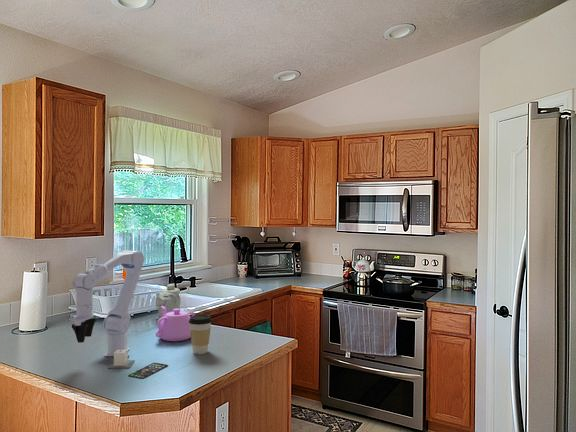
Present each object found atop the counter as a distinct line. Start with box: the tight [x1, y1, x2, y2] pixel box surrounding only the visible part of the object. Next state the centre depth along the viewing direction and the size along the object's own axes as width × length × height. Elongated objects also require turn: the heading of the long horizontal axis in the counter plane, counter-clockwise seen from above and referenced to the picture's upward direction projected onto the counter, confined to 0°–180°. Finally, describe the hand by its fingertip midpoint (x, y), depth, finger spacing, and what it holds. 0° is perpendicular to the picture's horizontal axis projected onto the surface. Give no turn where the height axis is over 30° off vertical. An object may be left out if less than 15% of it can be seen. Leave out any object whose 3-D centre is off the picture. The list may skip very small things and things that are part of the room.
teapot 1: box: [155, 283, 182, 319], centre depth 249 cm, size 16×15×19 cm
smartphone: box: [127, 362, 169, 380], centre depth 168 cm, size 7×1×15 cm
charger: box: [113, 349, 128, 366], centre depth 174 cm, size 4×4×5 cm
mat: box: [107, 359, 135, 370], centre depth 174 cm, size 8×8×1 cm
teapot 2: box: [155, 306, 196, 343], centre depth 212 cm, size 22×22×14 cm
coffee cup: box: [189, 314, 213, 355], centre depth 190 cm, size 10×10×15 cm
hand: (84, 339), depth 173 cm, fingers open, 7 cm apart
